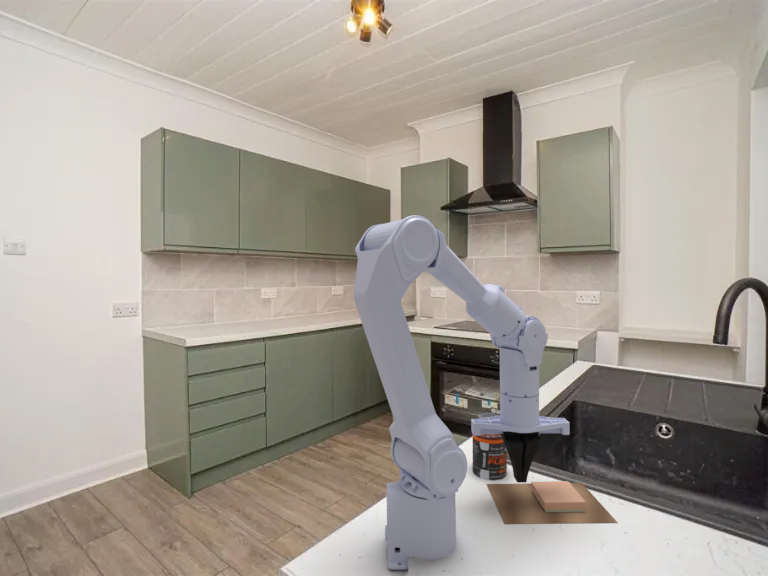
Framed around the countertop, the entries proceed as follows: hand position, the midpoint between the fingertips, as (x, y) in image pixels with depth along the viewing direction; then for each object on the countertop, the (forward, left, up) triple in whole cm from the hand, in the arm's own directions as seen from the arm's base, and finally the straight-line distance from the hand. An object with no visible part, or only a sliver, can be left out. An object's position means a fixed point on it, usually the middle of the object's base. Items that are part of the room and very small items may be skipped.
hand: (520, 479), depth 63 cm
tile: (+3, 0, -3) cm, 4 cm away
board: (+4, 0, -5) cm, 6 cm away
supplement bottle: (-2, +10, -5) cm, 11 cm away
